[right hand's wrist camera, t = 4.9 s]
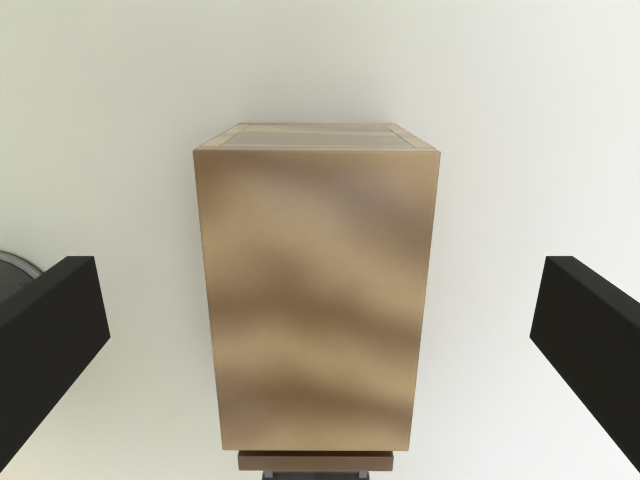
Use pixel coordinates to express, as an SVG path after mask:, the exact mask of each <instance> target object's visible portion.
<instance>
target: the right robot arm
mask: <svg viewBox="0 0 640 480" xmlns="http://www.w3.org/2000/svg"><path fill="white" fill-rule="evenodd" d="M109 338H110V332H109V327H108V323H107V318H106V313H105V308H104V303H103V298H102V294H101V289H100V284H99V279H98V274H97V269H96V264H95V260H94V256H67V257H65V258H64V259H63V260H61V261H60V262H58V263H57V264H55V265H54V266H53V267H51V268H50V269H48V270H47V271H45V272H44V273H43V274H41V275H40V276H38V277H37V278H35V279H34V280H33V281H31V282H30V283H28V284H27V285H26V286H24V287H23V288H21V289H20V290H18V291H17V292H16V293H14V294H13V295H11V296H10V297H8V298H7V299H6V300H4V301H3V302H1V303H0V473H1V471H2V470H3V469H4V468H5V467H6V465H7V464H8V463H9V462H10V460H11V459H12V458H13V457H14V455H15V454H16V453H17V452H18V451H19V449H20V448H21V447H22V446H23V444H24V443H25V442H26V441H27V439H28V438H29V437H30V436H31V435H32V433H33V432H34V431H35V430H36V428H37V427H38V426H39V425H40V423H41V422H42V421H43V420H44V419H45V417H46V416H47V415H48V414H49V412H50V411H51V410H52V409H53V407H54V406H55V405H56V404H57V403H58V401H59V400H60V399H61V398H62V396H63V395H64V394H65V393H66V391H67V390H68V389H69V388H70V387H71V385H72V384H73V383H74V382H75V380H76V379H77V378H78V377H79V375H80V374H81V373H82V372H83V370H84V369H85V368H86V367H87V366H88V364H89V363H90V362H91V361H92V359H93V358H94V357H95V356H96V354H97V353H98V352H99V351H100V350H101V348H102V347H103V346H104V345H105V343H106V342H107V341H108V340H109ZM530 338H531V340H532V341H533V342H534V343H535V345H536V346H537V347H538V348H539V350H540V351H541V352H542V353H543V354H544V356H545V357H546V358H547V359H548V361H549V362H550V363H551V364H552V366H553V367H554V368H555V369H556V370H557V372H558V373H559V374H560V375H561V377H562V378H563V379H564V380H565V382H566V383H567V384H568V385H569V387H570V388H571V389H572V390H573V391H574V393H575V394H576V395H577V396H578V398H579V399H580V400H581V401H582V403H583V404H584V405H585V406H586V407H587V409H588V410H589V411H590V412H591V414H592V415H593V416H594V417H595V419H596V420H597V421H598V422H599V423H600V425H601V426H602V427H603V428H604V430H605V431H606V432H607V433H608V435H609V436H610V437H611V438H612V439H613V441H614V442H615V443H616V444H617V446H618V447H619V448H620V449H621V451H622V452H623V453H624V454H625V455H626V457H627V458H628V459H629V460H630V462H631V463H632V464H633V465H634V467H635V468H636V469H637V470H638V472H639V473H640V303H639V302H637V301H636V300H634V299H633V298H632V297H630V296H629V295H627V294H626V293H624V292H623V291H622V290H620V289H619V288H617V287H616V286H614V285H613V284H612V283H610V282H609V281H607V280H606V279H605V278H603V277H602V276H600V275H599V274H597V273H596V272H595V271H593V270H592V269H590V268H589V267H587V266H586V265H585V264H583V263H582V262H580V261H579V260H577V259H576V258H575V257H573V256H546V260H545V264H544V269H543V274H542V279H541V284H540V289H539V294H538V298H537V303H536V308H535V313H534V318H533V323H532V327H531V332H530Z"/></svg>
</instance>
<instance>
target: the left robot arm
mask: <svg viewBox="0 0 640 480" xmlns="http://www.w3.org/2000/svg"><path fill="white" fill-rule="evenodd" d="M41 274H42V273H41V272H40V271H39V270H37V269H36V268H35V267H33V266H32V265H30V264H29V263H27V262H26V261H24V260H22V259H20V258H18V257H16V256H13V255H10V254H7V253H4V252H0V303H1V302H3V301H4V300H6V299H7V298H8V297H10V296H11V295H13V294H14V293H16V292H17V291H18V290H20V289H21V288H23V287H24V286H26V285H27V284H28V283H30V282H31V281H33V280H34V279H35V278H37V277H38V276H40V275H41Z"/></svg>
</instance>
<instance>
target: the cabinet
mask: <svg viewBox="0 0 640 480" xmlns="http://www.w3.org/2000/svg"><path fill="white" fill-rule="evenodd" d="M440 156H441V152H440V151H438V150H437V149H435V148H434V147H433V146H431V145H429V144H428V143H426V142H424V141H423V140H421V139H419V138H418V137H416V136H415V135H413V134H411V133H410V132H408V131H406V130H405V129H403V128H401V127H400V126H398V125H396V124H290V123H239V124H237V125H236V126H234V127H233V128H231V129H229V130H227V131H226V132H224V133H222V134H220V135H219V136H217V137H215V138H213V139H212V140H210V141H208V142H206V143H205V144H203V145H201V146H199V147H198V148H196V149H194V150H193V158H194V168H195V178H196V188H197V198H198V208H199V218H200V228H201V238H202V248H203V258H204V268H205V278H206V288H207V298H208V308H209V318H210V328H211V338H212V348H213V358H214V369H215V379H216V389H217V399H218V409H219V419H220V429H221V439H222V448H223V450H322V451H408V450H409V442H410V433H411V424H412V414H413V405H414V396H415V387H416V377H417V368H418V359H419V350H420V340H421V331H422V322H423V313H424V303H425V294H426V285H427V276H428V266H429V257H430V248H431V239H432V229H433V220H434V211H435V202H436V192H437V183H438V174H439V165H440Z"/></svg>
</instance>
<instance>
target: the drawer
mask: <svg viewBox="0 0 640 480" xmlns="http://www.w3.org/2000/svg"><path fill="white" fill-rule="evenodd" d="M393 459H394V456H393V451H322V450H239V453H238V466H239V470H264V471H263V475H262V480H370V478H369V472H368V471H392V470H393Z"/></svg>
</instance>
